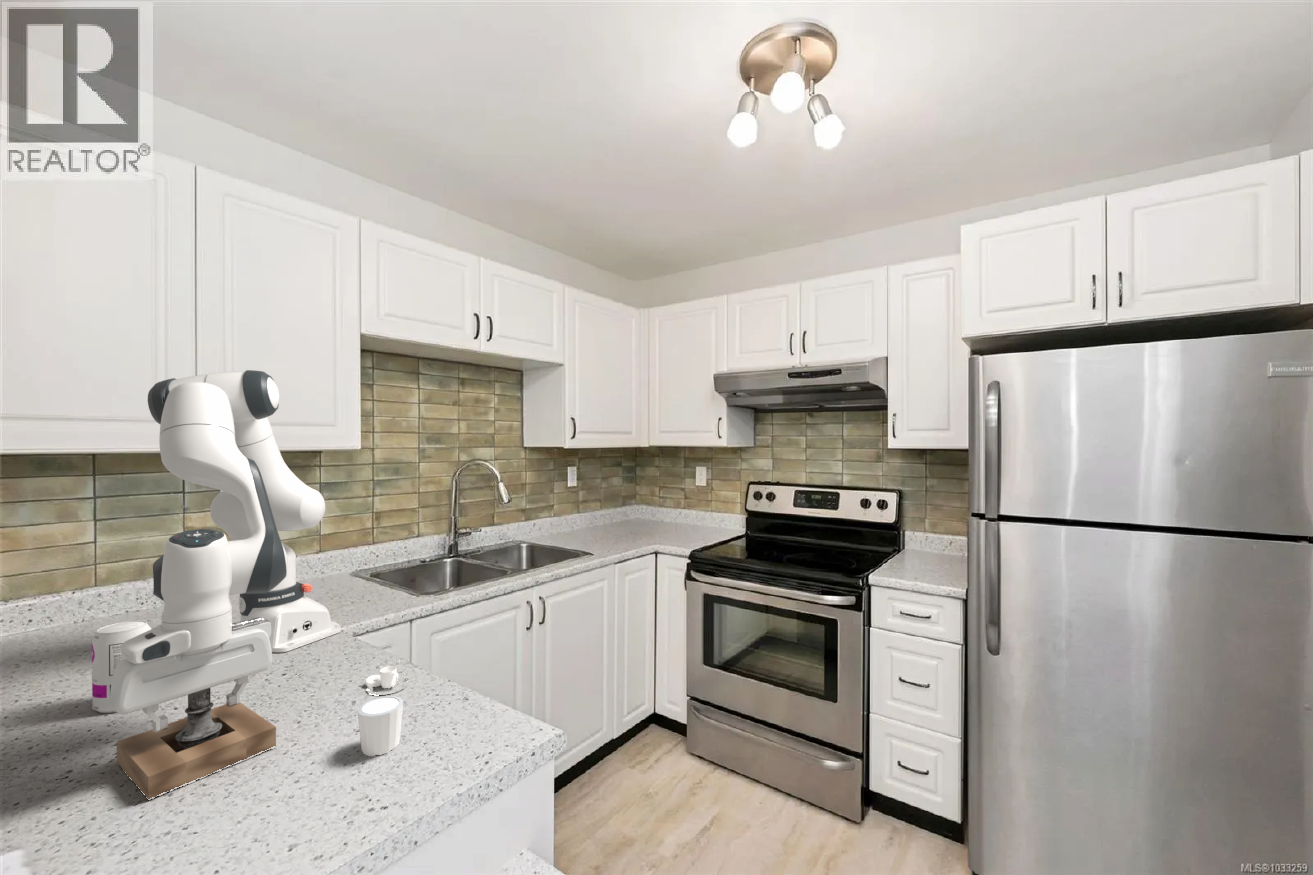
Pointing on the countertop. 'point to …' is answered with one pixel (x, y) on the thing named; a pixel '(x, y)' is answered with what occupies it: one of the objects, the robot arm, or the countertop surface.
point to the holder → (193, 750)
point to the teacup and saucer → (383, 678)
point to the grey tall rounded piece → (198, 721)
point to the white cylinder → (380, 724)
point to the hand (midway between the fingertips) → (198, 716)
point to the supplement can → (110, 658)
